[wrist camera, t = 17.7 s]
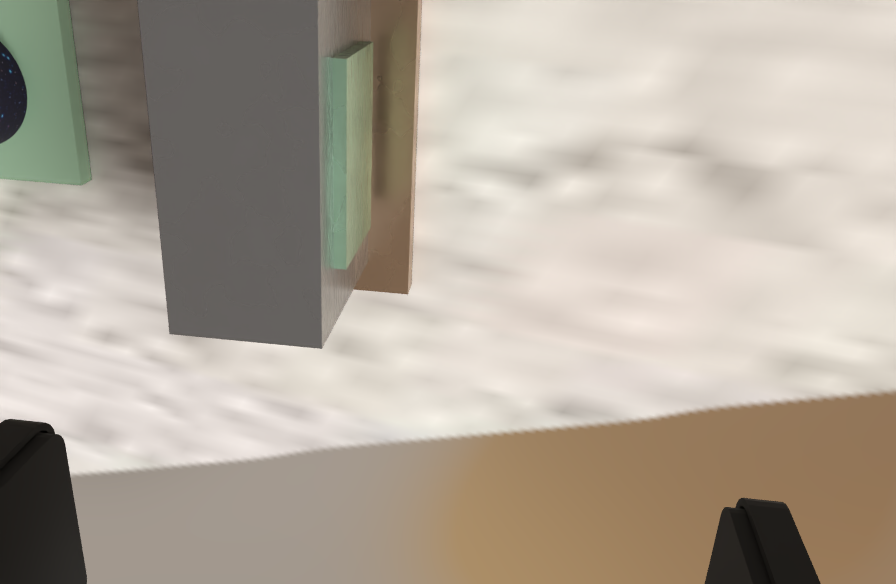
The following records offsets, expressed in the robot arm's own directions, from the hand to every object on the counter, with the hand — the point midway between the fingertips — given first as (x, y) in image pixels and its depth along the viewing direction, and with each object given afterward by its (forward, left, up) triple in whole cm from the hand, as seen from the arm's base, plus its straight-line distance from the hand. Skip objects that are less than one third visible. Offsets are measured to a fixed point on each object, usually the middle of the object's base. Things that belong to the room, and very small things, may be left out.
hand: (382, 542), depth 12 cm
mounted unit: (+6, -6, -28) cm, 30 cm away
